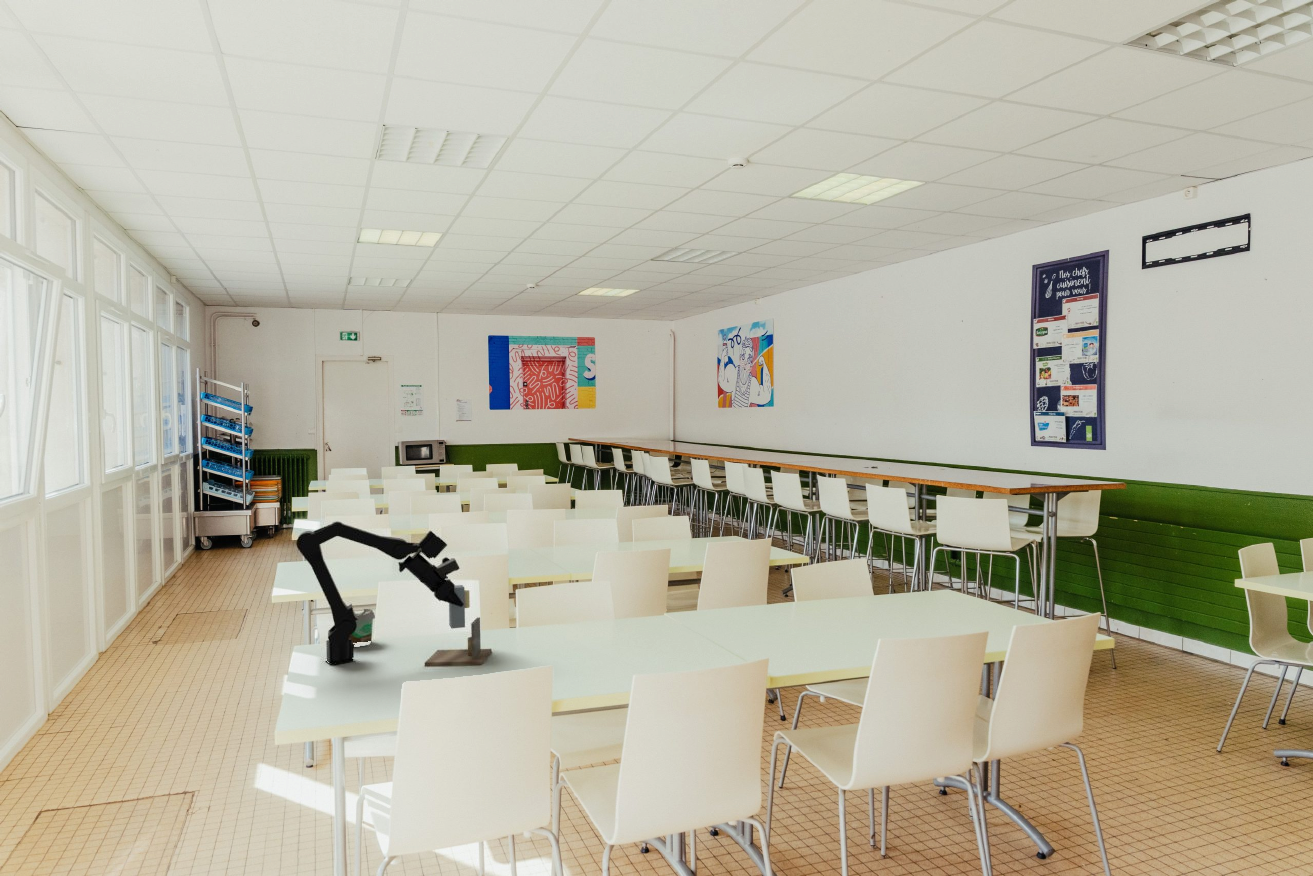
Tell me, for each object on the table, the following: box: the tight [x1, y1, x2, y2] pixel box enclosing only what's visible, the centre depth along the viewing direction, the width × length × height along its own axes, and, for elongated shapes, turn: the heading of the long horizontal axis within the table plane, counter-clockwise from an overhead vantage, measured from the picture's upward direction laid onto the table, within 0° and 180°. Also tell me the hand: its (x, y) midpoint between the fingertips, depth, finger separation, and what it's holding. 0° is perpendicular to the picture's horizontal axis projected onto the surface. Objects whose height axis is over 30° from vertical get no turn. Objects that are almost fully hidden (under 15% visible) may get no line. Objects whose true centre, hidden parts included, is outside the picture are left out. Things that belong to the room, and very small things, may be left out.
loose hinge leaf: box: [448, 584, 471, 629], centre depth 249 cm, size 6×5×12 cm
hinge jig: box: [424, 617, 492, 667], centre depth 237 cm, size 16×14×11 cm
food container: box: [349, 608, 376, 645], centre depth 256 cm, size 12×6×10 cm, turn 168°
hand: (461, 604), depth 249 cm, fingers closed on loose hinge leaf, 5 cm apart
